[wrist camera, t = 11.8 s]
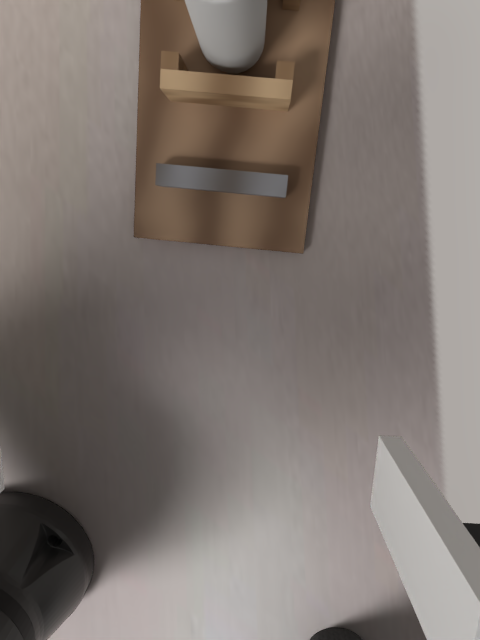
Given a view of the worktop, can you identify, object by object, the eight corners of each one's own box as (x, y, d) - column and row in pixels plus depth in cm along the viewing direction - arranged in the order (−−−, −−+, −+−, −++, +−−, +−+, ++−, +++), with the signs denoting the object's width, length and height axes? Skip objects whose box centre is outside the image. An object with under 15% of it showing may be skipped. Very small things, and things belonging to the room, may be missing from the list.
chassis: (137, 236, 37) (120, 239, 32) (147, -70, 31) (128, -119, 27) (301, 252, 36) (307, 257, 32) (340, -55, 31) (354, -102, 26)
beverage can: (238, -13, 31) (226, -153, 19) (279, 46, 31) (291, -54, 20) (187, 34, 32) (145, -72, 20) (227, 91, 32) (210, 20, 21)
